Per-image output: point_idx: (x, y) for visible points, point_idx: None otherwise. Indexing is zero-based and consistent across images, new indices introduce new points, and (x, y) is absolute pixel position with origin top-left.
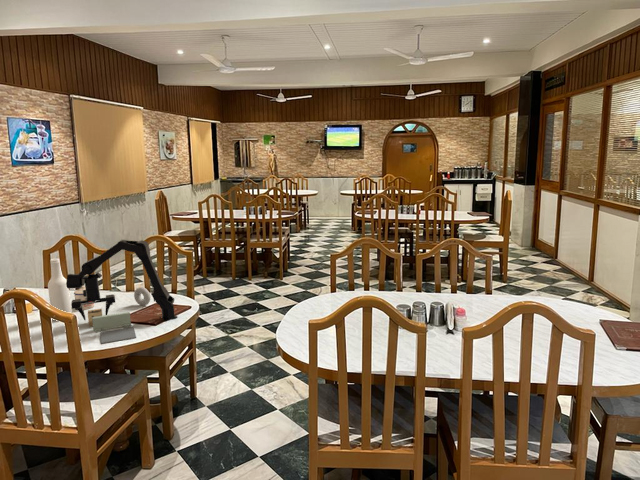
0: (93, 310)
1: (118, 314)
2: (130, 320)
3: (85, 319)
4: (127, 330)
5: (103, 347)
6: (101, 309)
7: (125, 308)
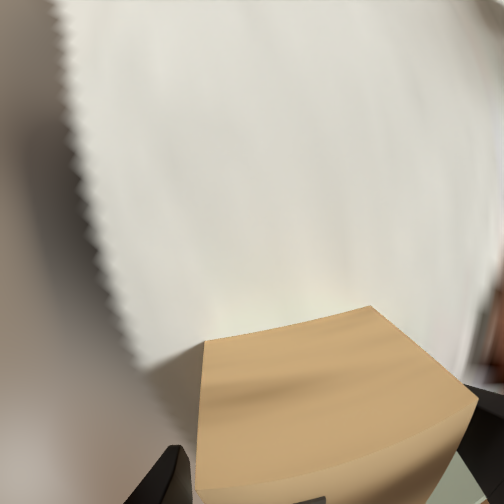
0: (329, 495)
1: (483, 499)
2: None
3: (183, 453)
4: None
5: None
6: (459, 441)
7: (483, 21)
